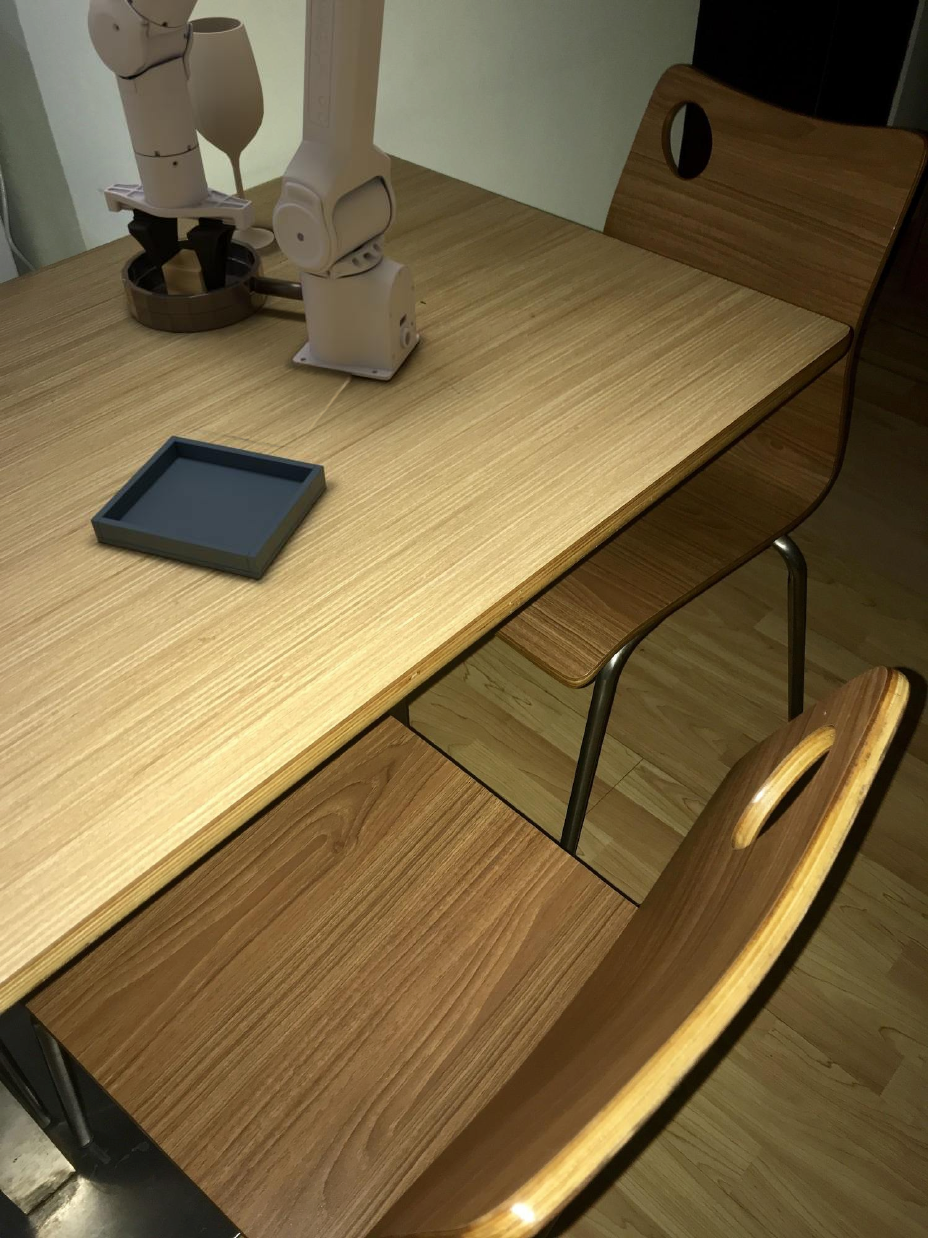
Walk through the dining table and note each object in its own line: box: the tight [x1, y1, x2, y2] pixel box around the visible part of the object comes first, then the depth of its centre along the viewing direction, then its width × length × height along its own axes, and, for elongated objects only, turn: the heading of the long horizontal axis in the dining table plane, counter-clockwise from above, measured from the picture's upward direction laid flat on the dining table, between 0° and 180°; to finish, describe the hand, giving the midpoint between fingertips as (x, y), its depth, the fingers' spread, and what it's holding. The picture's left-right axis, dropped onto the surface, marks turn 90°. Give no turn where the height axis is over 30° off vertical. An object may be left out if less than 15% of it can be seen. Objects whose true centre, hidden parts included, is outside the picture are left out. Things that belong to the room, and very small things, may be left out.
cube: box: [162, 249, 207, 295], centre depth 97 cm, size 4×4×4 cm
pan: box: [120, 236, 267, 333], centre depth 97 cm, size 13×13×4 cm
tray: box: [90, 435, 327, 580], centre depth 74 cm, size 13×11×2 cm
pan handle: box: [252, 276, 304, 302], centre depth 94 cm, size 8×2×2 cm, turn 71°
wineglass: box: [187, 16, 275, 250], centre depth 101 cm, size 8×8×21 cm
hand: (197, 290), depth 97 cm, fingers closed on cube, 4 cm apart
